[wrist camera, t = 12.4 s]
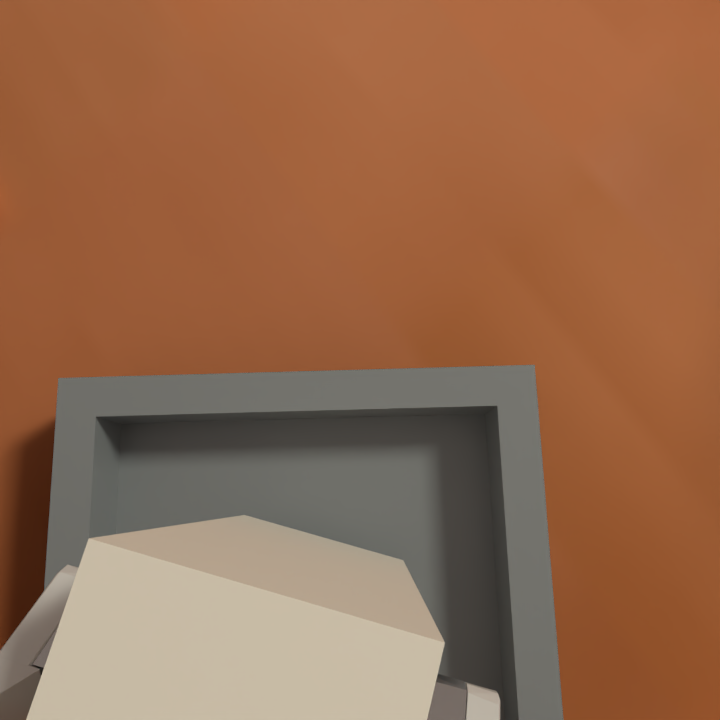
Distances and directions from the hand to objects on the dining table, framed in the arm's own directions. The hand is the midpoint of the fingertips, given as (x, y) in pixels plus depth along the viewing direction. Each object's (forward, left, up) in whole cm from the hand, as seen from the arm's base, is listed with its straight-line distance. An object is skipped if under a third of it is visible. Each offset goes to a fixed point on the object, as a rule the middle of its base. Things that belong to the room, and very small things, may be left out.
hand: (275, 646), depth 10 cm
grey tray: (-1, 0, -7) cm, 8 cm away
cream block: (-1, 0, -5) cm, 5 cm away
